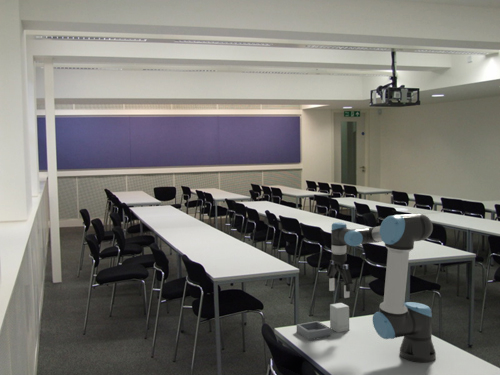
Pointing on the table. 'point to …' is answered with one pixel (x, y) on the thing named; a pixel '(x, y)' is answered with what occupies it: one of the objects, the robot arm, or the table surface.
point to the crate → (313, 330)
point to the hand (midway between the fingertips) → (339, 294)
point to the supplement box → (339, 317)
